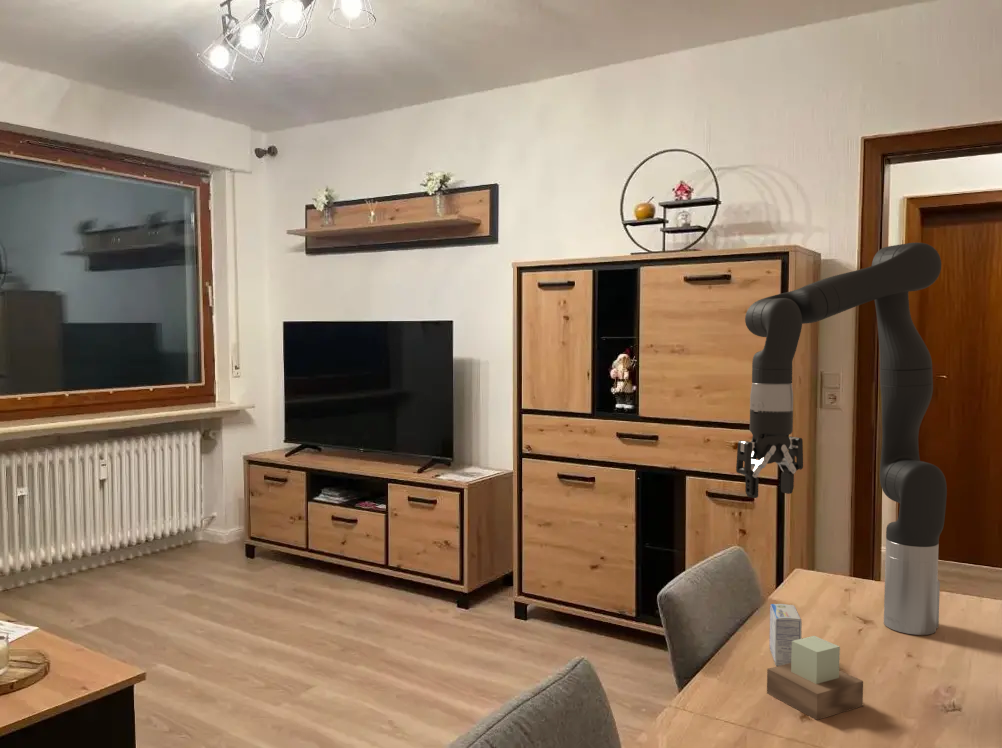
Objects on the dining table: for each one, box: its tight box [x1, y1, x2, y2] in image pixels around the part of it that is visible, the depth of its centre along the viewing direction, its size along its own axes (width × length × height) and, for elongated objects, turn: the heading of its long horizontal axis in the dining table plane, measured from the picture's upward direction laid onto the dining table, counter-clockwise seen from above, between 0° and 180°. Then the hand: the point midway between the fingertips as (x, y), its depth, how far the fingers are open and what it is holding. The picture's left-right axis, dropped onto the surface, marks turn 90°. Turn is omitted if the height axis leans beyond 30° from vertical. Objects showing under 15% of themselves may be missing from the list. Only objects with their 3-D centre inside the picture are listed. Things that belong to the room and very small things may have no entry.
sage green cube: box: [791, 635, 841, 684], centre depth 126 cm, size 5×5×5 cm
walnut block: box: [766, 663, 864, 721], centre depth 126 cm, size 10×10×4 cm
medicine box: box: [769, 603, 803, 667], centre depth 142 cm, size 8×4×9 cm, turn 168°
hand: (769, 495), depth 147 cm, fingers open, 8 cm apart
